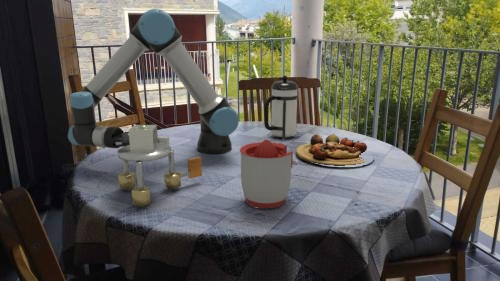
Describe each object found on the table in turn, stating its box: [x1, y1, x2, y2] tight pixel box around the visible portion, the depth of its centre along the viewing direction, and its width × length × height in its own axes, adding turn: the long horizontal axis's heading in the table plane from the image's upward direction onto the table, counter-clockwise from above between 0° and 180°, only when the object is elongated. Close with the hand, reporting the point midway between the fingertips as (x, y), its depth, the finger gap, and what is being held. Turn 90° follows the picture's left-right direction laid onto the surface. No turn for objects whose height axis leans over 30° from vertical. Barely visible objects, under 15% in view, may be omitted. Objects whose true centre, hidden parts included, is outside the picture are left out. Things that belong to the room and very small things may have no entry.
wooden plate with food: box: [295, 133, 368, 166], centre depth 167 cm, size 32×32×8 cm
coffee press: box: [263, 75, 299, 140], centre depth 192 cm, size 17×16×30 cm
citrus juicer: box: [239, 139, 298, 209], centre depth 121 cm, size 16×17×20 cm
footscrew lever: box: [163, 149, 203, 190], centre depth 133 cm, size 13×5×13 cm, turn 128°
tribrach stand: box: [117, 124, 172, 209], centre depth 124 cm, size 18×19×23 cm
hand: (168, 141), depth 136 cm, fingers closed
